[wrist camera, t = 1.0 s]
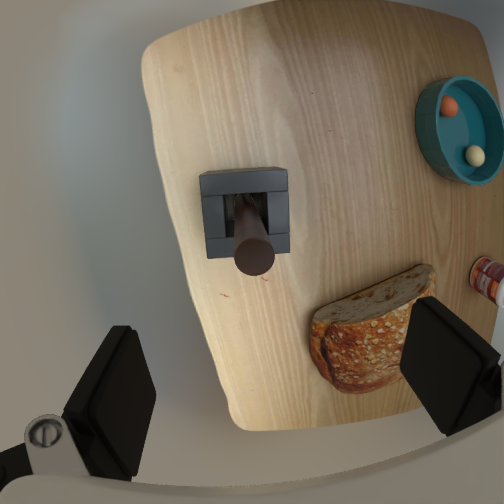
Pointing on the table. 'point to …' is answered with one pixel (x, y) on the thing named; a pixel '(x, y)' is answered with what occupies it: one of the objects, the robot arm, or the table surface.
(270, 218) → the holder
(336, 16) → the table surface
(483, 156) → the bead
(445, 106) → the bead
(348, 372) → the bread
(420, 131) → the bowl
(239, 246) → the stick
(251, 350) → the table surface
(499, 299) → the pill bottle
